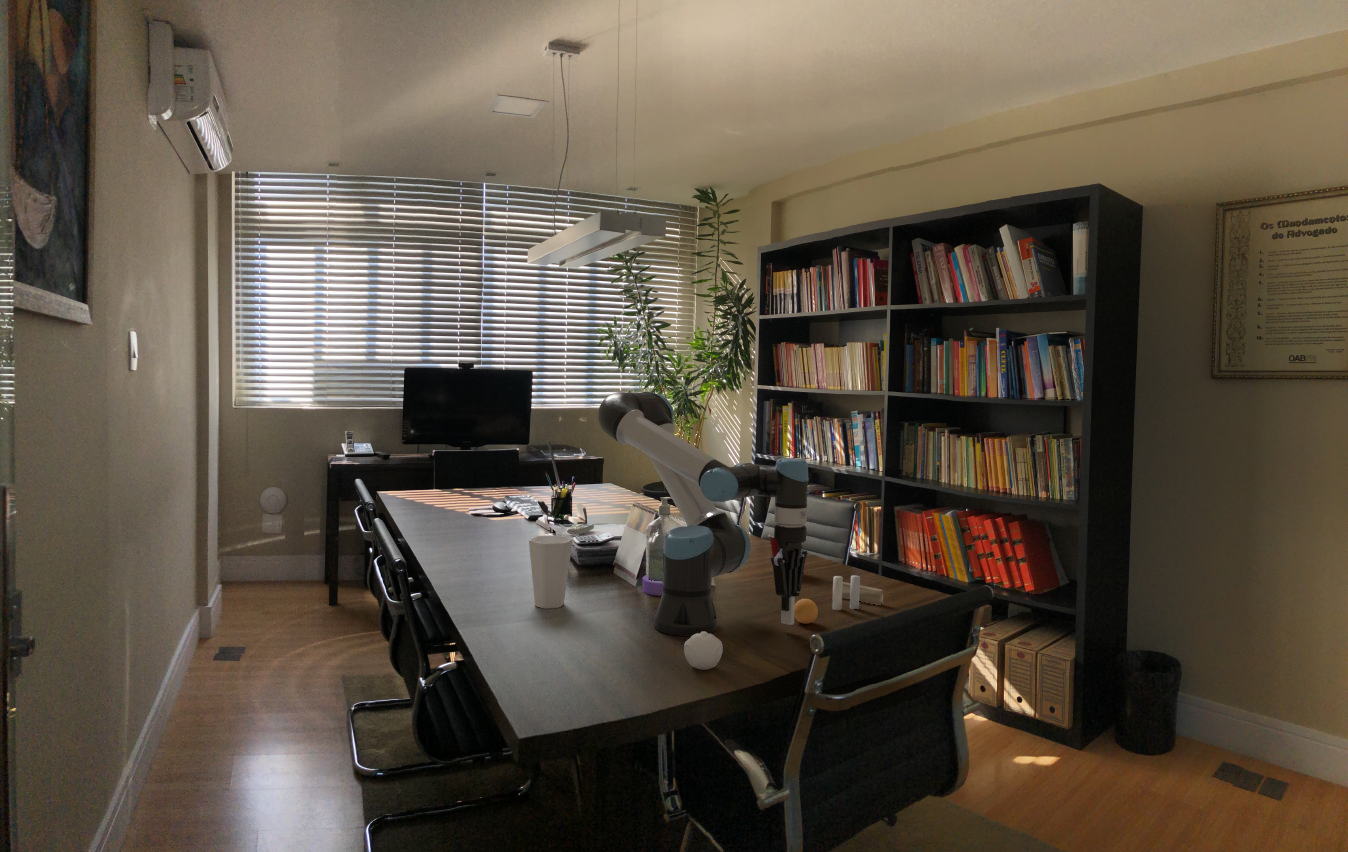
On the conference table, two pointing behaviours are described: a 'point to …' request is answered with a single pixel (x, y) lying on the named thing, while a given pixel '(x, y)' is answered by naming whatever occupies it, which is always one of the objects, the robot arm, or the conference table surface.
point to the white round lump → (703, 650)
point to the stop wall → (864, 594)
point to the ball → (805, 611)
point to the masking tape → (652, 586)
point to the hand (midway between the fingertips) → (787, 623)
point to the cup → (550, 569)
